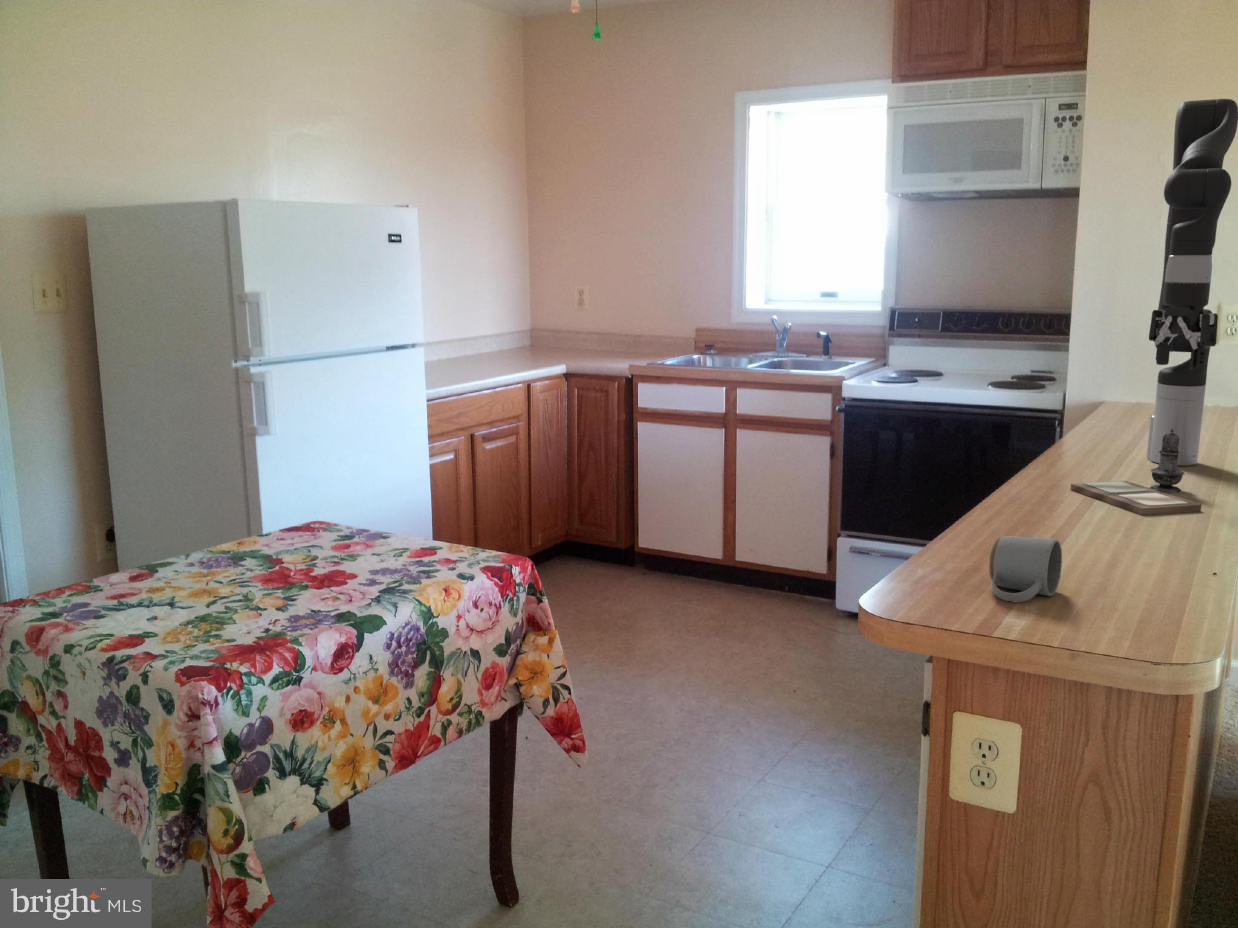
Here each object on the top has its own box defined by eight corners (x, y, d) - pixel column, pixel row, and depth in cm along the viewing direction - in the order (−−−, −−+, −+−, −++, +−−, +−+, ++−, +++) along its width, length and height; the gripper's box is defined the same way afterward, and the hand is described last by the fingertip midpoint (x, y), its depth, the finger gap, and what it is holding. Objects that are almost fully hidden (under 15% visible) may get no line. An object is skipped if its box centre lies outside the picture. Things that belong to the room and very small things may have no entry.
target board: (1070, 489, 200) (1071, 482, 199) (1124, 486, 202) (1125, 479, 202) (1141, 515, 181) (1142, 507, 180) (1200, 511, 183) (1201, 503, 183)
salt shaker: (1187, 493, 196) (1193, 431, 194) (1153, 492, 197) (1160, 430, 195) (1177, 486, 202) (1183, 426, 199) (1144, 485, 203) (1150, 425, 200)
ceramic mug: (1001, 577, 147) (1004, 525, 146) (1061, 587, 143) (1065, 534, 141) (977, 598, 139) (980, 544, 137) (1040, 610, 134) (1044, 554, 133)
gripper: (1235, 281, 185) (1224, 370, 188) (1176, 278, 198) (1167, 362, 202) (1199, 281, 183) (1190, 372, 187) (1143, 279, 197) (1134, 363, 200)
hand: (1178, 367), depth 194 cm, fingers open, 8 cm apart
